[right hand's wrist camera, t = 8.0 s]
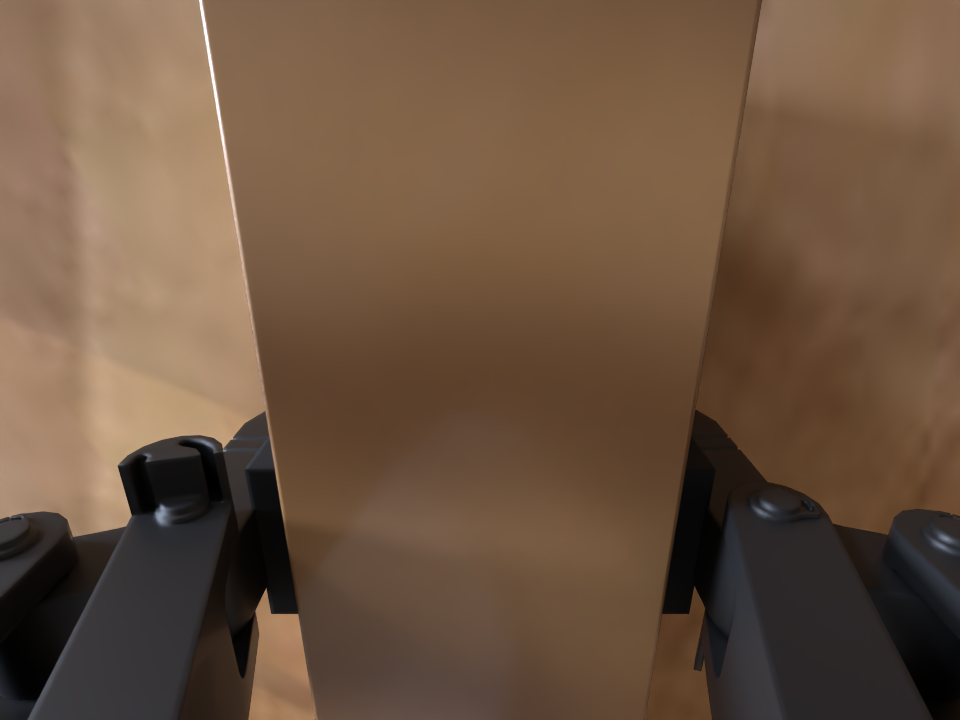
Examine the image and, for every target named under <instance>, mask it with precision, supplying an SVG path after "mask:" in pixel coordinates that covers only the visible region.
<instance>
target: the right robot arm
mask: <svg viewBox="0 0 960 720" xmlns="http://www.w3.org/2000/svg"><path fill="white" fill-rule="evenodd" d="M727 436H728V435H727V434H726V433H725V432H724V431H723V429H722V428H721V427H720V426H719V425H718V423H717V422H716V421H714V420H712V419H711V418H709V417H707V416H706V415H704V414H702V413H701V412H699V411H697V410H695V414H694V421H693V427H692V433H691V439H690V445H689V451H688V457H687V464H686V470H685V476H684V482H683V488H682V494H681V501H680V507H679V513H678V519H677V525H676V531H675V537H674V544H673V550H672V556H671V562H670V568H669V574H668V580H667V587H666V593H665V599H664V605H663V611H662V614H689V611H690V606H691V601H692V595H693V590H694V586H695V588H696V590H697V592H698V594H699V596H700V598H701V600H702V602H703V604H704V606H705V613H704V618H703V623H702V628H701V633H700V638H699V643H698V648H697V652H696V657H695V664H694V670H698V671H701V670H702V665H703V660H704V662H705V669H706V677H707V685H708V693H709V701H710V709H711V717H712V720H960V516H957V515H954V514H953V515H950V513H946V512H941V511H931V510H922V509H914V510H906V511H902V512H901V513H899V514H898V515H897V516H895V517H894V520H893V523H892V526H891V528H890V531H889V534H888V535H885V534H880V533H875V532H870V531H865V530H860V529H854V528H849V527H844V526H840V525H836V524H833V523H832V521H831V519H830V518H829V516H828V514H827V513H826V512H825V511H824V509H823V508H822V507H821V506H820V505H819V504H818V503H817V502H815V501H814V500H812V499H811V498H809V497H808V496H806V495H805V494H803V493H801V492H798V491H796V490H794V489H791V488H789V487H786V486H782V485H778V484H774V483H769V482H767V481H766V480H765V479H764V477H763V476H762V475H761V474H760V473H759V472H758V470H757V469H756V468H755V467H754V466H753V464H752V463H751V462H750V461H749V460H748V459H747V457H746V456H745V455H744V454H743V453H742V452H741V450H738V449H737V446H736V445H735V443H734V442H733V441H732V440H731V439H730V438H728V437H727ZM118 469H119V472H120V476H121V479H122V483H123V486H124V490H125V493H126V497H127V500H128V504H129V507H130V511H131V514H132V517H131V519H130V520H129V522H128V524H127V526H126V527H122V528H118V529H113V530H108V531H103V532H98V533H93V534H88V535H83V536H78V537H73V536H72V533H71V530H70V527H69V524H68V521H67V519H65V518H64V517H63V516H61V515H60V514H59V513H51V512H35V513H27V514H18V515H14V516H11V517H10V518H9V517H6V518H3V519H0V720H248V718H249V710H250V702H251V694H252V687H253V679H254V671H255V663H256V655H257V647H258V639H259V629H258V623H257V618H256V613H255V610H256V608H257V606H258V604H259V602H260V599H261V597H262V595H263V593H264V591H265V589H266V588H267V593H268V599H269V604H270V609H271V614H298V609H297V603H296V596H295V590H294V584H293V578H292V572H291V566H290V559H289V553H288V547H287V541H286V535H285V528H284V522H283V516H282V510H281V504H280V498H279V491H278V485H277V479H276V473H275V467H274V461H273V454H272V448H271V442H270V436H269V430H268V424H267V417H266V411H265V412H263V413H261V414H260V415H258V416H256V417H255V418H253V419H251V420H250V421H248V422H246V423H245V424H244V425H243V426H242V427H241V429H240V430H239V431H238V432H237V433H236V434H235V436H234V437H233V440H230V442H229V443H228V444H227V445H226V446H225V447H224V449H223V448H222V444H221V443H220V442H218V441H217V440H216V439H214V438H211V437H206V436H201V435H196V436H179V437H174V438H169V439H164V440H161V441H158V442H155V443H152V444H150V445H147V446H144V447H142V448H140V449H138V450H137V451H135V452H133V453H131V454H130V455H128V456H127V457H126V458H125V459H124V460H123V461H122V462H121V463H120V464H119V465H118Z"/></svg>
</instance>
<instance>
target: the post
mask: <svg viewBox="0 0 960 720" xmlns="http://www.w3.org/2000/svg"><path fill="white" fill-rule="evenodd" d="M761 2H762V0H199V4H200V10H201V16H202V23H203V29H204V35H205V41H206V47H207V53H208V60H209V66H210V72H211V78H212V84H213V90H214V97H215V103H216V109H217V115H218V121H219V127H220V134H221V140H222V146H223V152H224V158H225V164H226V171H227V177H228V183H229V189H230V195H231V201H232V208H233V214H234V220H235V226H236V232H237V238H238V245H239V251H240V257H241V263H242V269H243V276H244V282H245V288H246V294H247V300H248V306H249V313H250V319H251V325H252V331H253V337H254V343H255V350H256V356H257V362H258V368H259V374H260V380H261V387H262V393H263V399H264V405H265V411H266V417H267V424H268V430H269V436H270V442H271V448H272V454H273V461H274V467H275V473H276V479H277V485H278V491H279V498H280V504H281V510H282V516H283V522H284V528H285V535H286V541H287V547H288V553H289V559H290V566H291V572H292V578H293V584H294V590H295V596H296V603H297V609H298V615H299V621H300V627H301V633H302V640H303V646H304V652H305V658H306V664H307V670H308V677H309V683H310V689H311V695H312V701H313V707H314V714H315V720H645V716H646V710H647V703H648V697H649V691H650V685H651V679H652V673H653V667H654V660H655V654H656V648H657V642H658V636H659V630H660V624H661V617H662V611H663V605H664V599H665V593H666V587H667V580H668V574H669V568H670V562H671V556H672V550H673V544H674V537H675V531H676V525H677V519H678V513H679V507H680V501H681V494H682V488H683V482H684V476H685V470H686V464H687V457H688V451H689V445H690V439H691V433H692V427H693V421H694V414H695V408H696V402H697V396H698V390H699V384H700V378H701V371H702V365H703V359H704V353H705V347H706V341H707V335H708V328H709V322H710V316H711V310H712V304H713V298H714V291H715V285H716V279H717V273H718V267H719V261H720V255H721V248H722V242H723V236H724V230H725V224H726V218H727V212H728V205H729V199H730V193H731V187H732V181H733V175H734V169H735V162H736V156H737V150H738V144H739V138H740V132H741V125H742V119H743V113H744V107H745V101H746V95H747V89H748V82H749V76H750V70H751V64H752V58H753V52H754V46H755V39H756V33H757V27H758V21H759V15H760V9H761Z"/></svg>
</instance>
